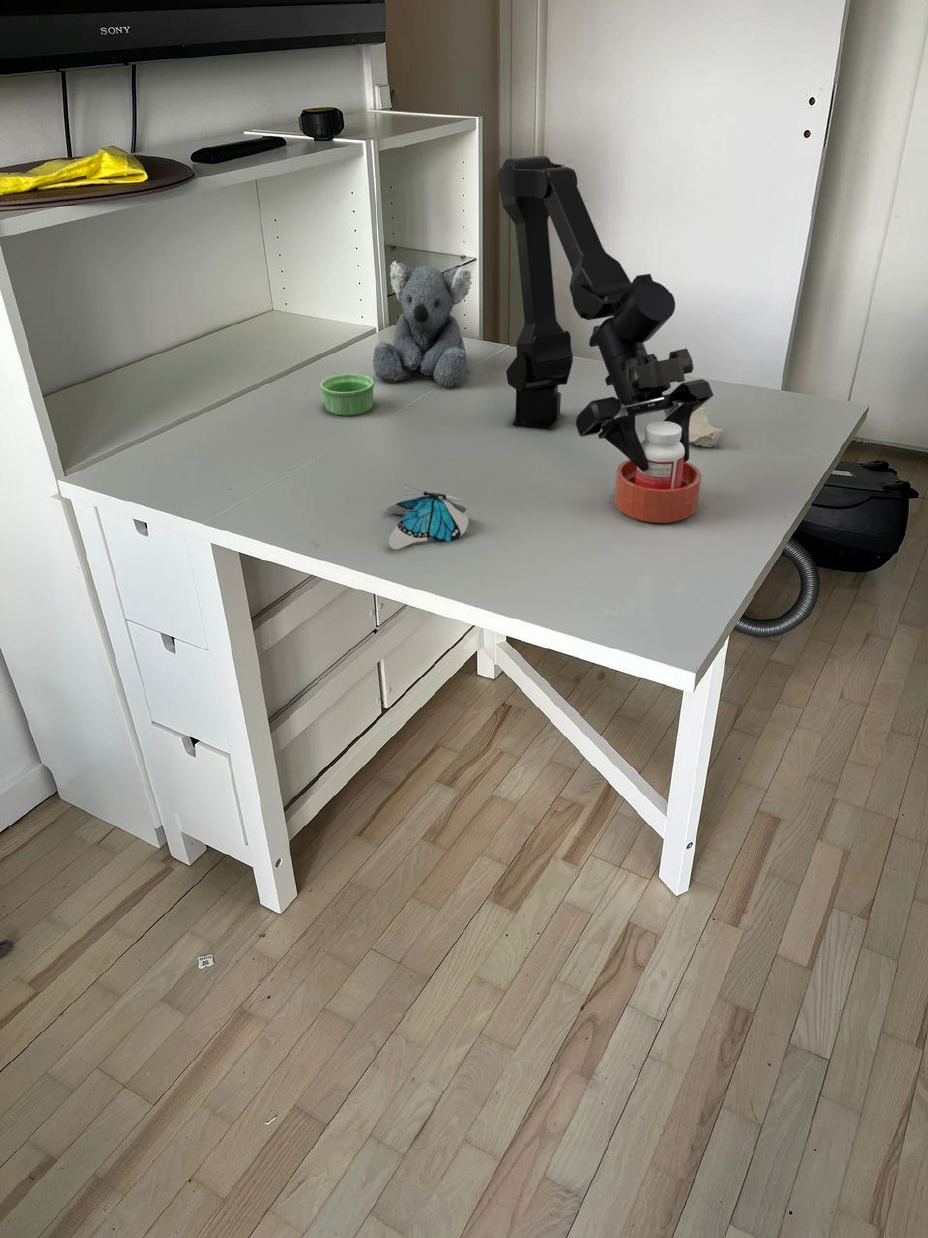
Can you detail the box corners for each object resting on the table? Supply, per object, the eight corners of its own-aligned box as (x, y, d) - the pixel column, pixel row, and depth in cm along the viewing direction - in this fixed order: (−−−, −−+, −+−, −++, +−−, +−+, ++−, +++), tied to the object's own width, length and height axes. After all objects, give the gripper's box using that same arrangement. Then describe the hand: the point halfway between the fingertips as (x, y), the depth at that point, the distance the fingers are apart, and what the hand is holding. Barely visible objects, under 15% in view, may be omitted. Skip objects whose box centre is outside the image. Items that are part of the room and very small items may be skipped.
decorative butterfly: (475, 517, 121) (398, 503, 119) (463, 561, 125) (387, 548, 123) (468, 482, 130) (395, 469, 128) (457, 524, 133) (386, 511, 131)
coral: (709, 452, 146) (713, 425, 144) (653, 433, 153) (655, 407, 150) (729, 441, 150) (733, 414, 147) (673, 423, 156) (676, 397, 153)
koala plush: (369, 383, 173) (361, 272, 162) (397, 351, 187) (391, 247, 176) (462, 390, 169) (461, 277, 158) (483, 357, 184) (483, 251, 173)
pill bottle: (660, 489, 135) (669, 415, 129) (687, 507, 131) (697, 431, 125) (624, 498, 133) (630, 423, 127) (649, 517, 129) (658, 440, 122)
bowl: (607, 518, 129) (610, 485, 126) (621, 483, 138) (624, 451, 135) (691, 529, 126) (696, 495, 124) (700, 493, 135) (705, 460, 132)
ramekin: (313, 413, 161) (310, 388, 159) (338, 395, 168) (336, 370, 166) (360, 420, 159) (358, 395, 156) (384, 401, 165) (383, 376, 163)
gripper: (592, 340, 119) (635, 455, 117) (714, 319, 125) (756, 427, 123) (557, 381, 129) (596, 488, 127) (671, 360, 136) (710, 461, 134)
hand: (666, 465), depth 127 cm, fingers closed on pill bottle, 6 cm apart
